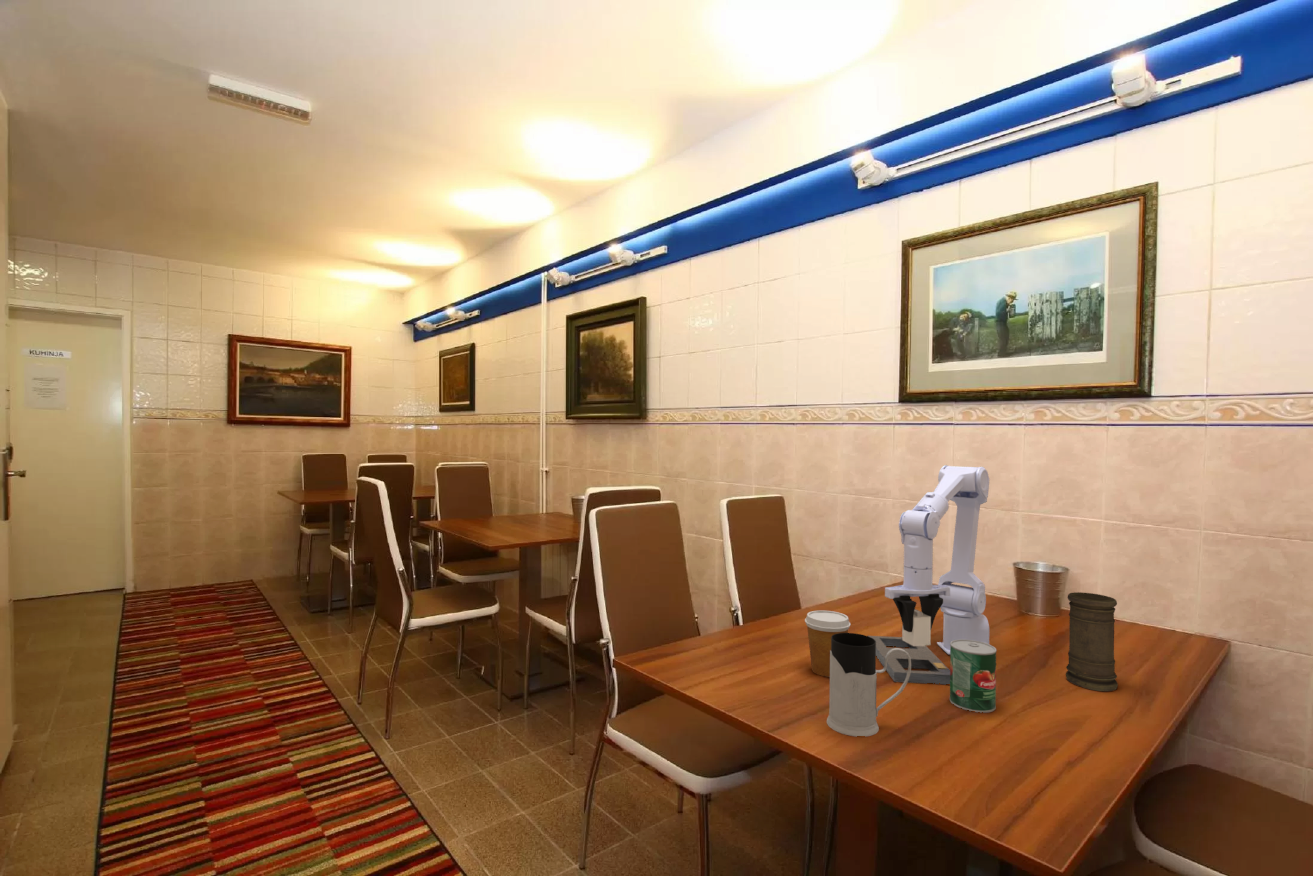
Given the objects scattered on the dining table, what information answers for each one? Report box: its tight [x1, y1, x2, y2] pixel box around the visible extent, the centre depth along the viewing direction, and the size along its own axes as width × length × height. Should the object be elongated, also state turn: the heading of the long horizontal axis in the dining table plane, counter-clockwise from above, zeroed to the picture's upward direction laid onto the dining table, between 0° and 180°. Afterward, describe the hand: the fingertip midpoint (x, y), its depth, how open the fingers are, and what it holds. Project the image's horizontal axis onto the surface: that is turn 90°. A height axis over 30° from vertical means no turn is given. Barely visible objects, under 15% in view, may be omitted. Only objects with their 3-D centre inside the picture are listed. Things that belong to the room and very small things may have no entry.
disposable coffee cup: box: [804, 610, 851, 678], centre depth 134 cm, size 10×10×12 cm
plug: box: [901, 608, 932, 646], centre depth 133 cm, size 4×4×7 cm
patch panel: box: [868, 635, 950, 685], centre depth 140 cm, size 12×24×2 cm, turn 174°
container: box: [1065, 591, 1119, 692], centre depth 129 cm, size 9×9×18 cm
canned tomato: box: [949, 640, 997, 714], centre depth 118 cm, size 8×8×11 cm
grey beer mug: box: [826, 632, 912, 737], centre depth 109 cm, size 9×14×15 cm, turn 84°
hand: (917, 630), depth 133 cm, fingers closed on plug, 4 cm apart
